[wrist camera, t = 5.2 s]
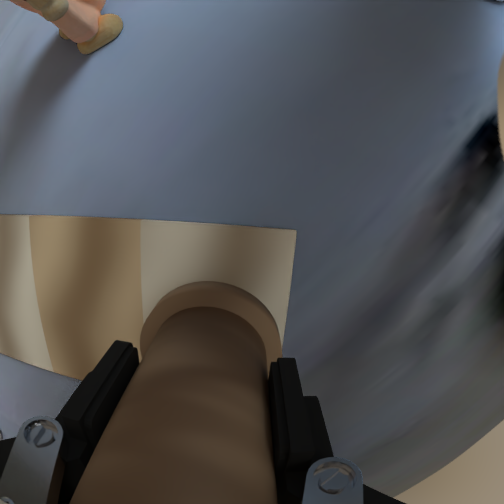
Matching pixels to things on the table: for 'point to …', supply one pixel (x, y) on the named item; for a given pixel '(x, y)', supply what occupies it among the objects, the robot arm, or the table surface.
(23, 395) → the table surface
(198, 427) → the pawn
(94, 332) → the track board
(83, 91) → the table surface
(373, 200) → the table surface
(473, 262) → the table surface
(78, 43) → the grandmother figurine
